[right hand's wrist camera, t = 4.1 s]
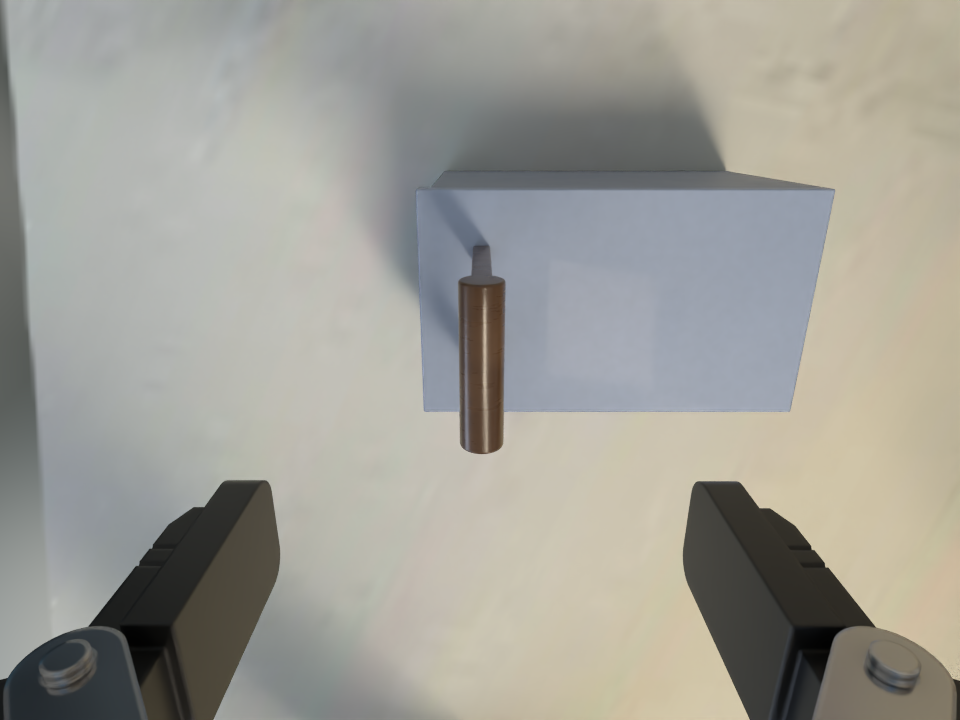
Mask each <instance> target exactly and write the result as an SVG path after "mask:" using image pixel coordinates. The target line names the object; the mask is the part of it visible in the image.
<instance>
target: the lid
mask: <svg viewBox="0 0 960 720" xmlns="http://www.w3.org/2000/svg"><path fill="white" fill-rule="evenodd" d="M834 194H835V190H834V189H830V188H824V187H419V188H417V189H416V210H417V237H418V264H419V291H420V318H421V345H422V372H423V399H424V411H425V412H460V444H461V446H462V448H463V449H465V450H466V451H468V452H471V453H476V454H488V453H492V452H495V451H497V450H499V449H500V448H501V447H502V445H503V425H504V412H790V409H791V404H792V399H793V394H794V389H795V384H796V380H797V375H798V370H799V365H800V360H801V355H802V350H803V345H804V340H805V336H806V331H807V326H808V321H809V316H810V311H811V306H812V301H813V296H814V291H815V287H816V282H817V277H818V272H819V267H820V262H821V257H822V252H823V247H824V242H825V238H826V233H827V228H828V223H829V218H830V213H831V208H832V203H833V198H834Z"/></svg>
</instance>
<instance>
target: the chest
mask: <svg viewBox="0 0 960 720" xmlns="http://www.w3.org/2000/svg"><path fill="white" fill-rule="evenodd" d="M432 187H818V186H812V185H806V184H800V183H794V182H788V181H782V180H776V179H770V178H764V177H758V176H752V175H746V174H740V173H734V172H729V171H444V173H443V174H442V175H441V176H440V177H439V179H438V180H437V181H436V182H435V183H434V184H433V185H432Z"/></svg>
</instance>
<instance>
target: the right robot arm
mask: <svg viewBox="0 0 960 720" xmlns="http://www.w3.org/2000/svg"><path fill="white" fill-rule="evenodd" d="M279 564H280V546H279V539H278V532H277V525H276V518H275V511H274V504H273V497H272V491H271V487H270V485H269V483H268V482H267V481H265V480H226V481H224V482H223V483H222V484H221V485H220V486H219V488H218V489H217V491H216V492H215V493H214V495H213V496H212V497H211V499H210V500H209V502H208V503H207V504H206V506H205V507H193V508H192V509H191V510H189V511H188V512H186V513H185V514H183V515H182V516H180V517H179V518H178V519H176V520H175V521H173V522H172V523H170V524H169V525H168V526H167V528H166V529H165V530H164V531H163V533H162V534H161V535H160V536H159V538H158V539H157V540H156V541H155V543H154V544H153V548H152V549H149V550H148V552H147V553H146V554H145V555H144V557H143V558H142V559H141V561H140V564H139V566H136V567H135V568H134V569H133V571H132V572H131V573H130V574H129V576H128V577H127V578H126V580H125V581H124V582H123V583H122V585H121V586H120V587H119V588H118V590H117V591H116V592H115V593H114V595H113V596H112V597H111V599H110V600H109V601H108V602H107V604H106V605H105V606H104V607H103V609H102V610H101V611H100V612H99V614H98V615H97V616H96V618H95V619H94V620H93V621H92V623H91V624H90V625H89V626H88V627H85V628H81V629H77V630H73V631H70V632H67V633H64V634H62V635H60V636H58V637H55V638H53V639H51V640H50V641H48V642H46V643H44V644H42V645H41V646H39V647H38V648H36V649H35V650H34V651H32V652H31V653H30V654H28V655H27V656H26V657H25V658H24V659H23V660H22V661H21V662H20V663H19V664H18V665H17V666H16V667H15V668H14V670H13V671H12V672H11V674H10V675H9V677H8V678H6V679H2V680H0V720H213V719H214V717H215V715H216V713H217V710H218V708H219V706H220V704H221V701H222V699H223V697H224V695H225V693H226V690H227V688H228V686H229V684H230V682H231V679H232V677H233V675H234V673H235V671H236V668H237V666H238V664H239V662H240V660H241V657H242V655H243V653H244V651H245V648H246V646H247V644H248V642H249V640H250V637H251V635H252V633H253V631H254V629H255V626H256V624H257V622H258V620H259V618H260V615H261V613H262V611H263V609H264V606H265V604H266V602H267V600H268V598H269V595H270V593H271V591H272V589H273V587H274V584H275V582H276V579H277V575H278V571H279ZM683 565H684V572H685V576H686V580H687V583H688V585H689V588H690V590H691V592H692V594H693V596H694V599H695V601H696V603H697V605H698V607H699V609H700V612H701V614H702V616H703V618H704V620H705V623H706V625H707V627H708V629H709V631H710V633H711V636H712V638H713V640H714V642H715V644H716V647H717V649H718V651H719V653H720V655H721V657H722V660H723V662H724V664H725V666H726V668H727V671H728V673H729V675H730V677H731V679H732V681H733V684H734V686H735V688H736V690H737V692H738V695H739V697H740V699H741V701H742V703H743V705H744V708H745V710H746V712H747V714H748V716H749V719H750V720H960V681H958V680H955V679H952V677H951V675H950V674H949V672H948V671H947V670H946V668H945V667H944V666H943V665H942V664H941V663H940V662H939V661H938V660H937V659H936V658H935V657H934V656H933V655H932V654H930V653H929V652H928V651H926V650H925V649H924V648H922V647H921V646H919V645H918V644H916V643H914V642H912V641H910V640H909V639H907V638H905V637H902V636H900V635H898V634H896V633H893V632H890V631H887V630H883V629H879V628H876V627H875V626H874V624H873V623H872V622H871V621H870V619H869V618H868V617H867V616H866V614H865V613H864V612H863V611H862V609H861V608H860V607H859V606H858V604H857V603H856V602H855V601H854V599H853V598H852V597H851V596H850V594H849V593H848V592H847V591H846V589H845V588H844V587H843V586H842V584H841V583H840V582H839V580H838V579H837V578H836V577H835V575H834V574H833V573H832V572H831V570H830V569H829V568H825V563H824V562H823V560H822V559H821V558H820V557H819V555H818V554H817V553H816V552H815V550H812V549H811V545H810V544H809V543H808V542H807V540H806V539H805V538H804V537H803V535H802V534H801V533H800V532H799V530H798V529H797V528H796V526H794V525H793V524H792V523H790V522H789V521H787V520H786V519H784V518H783V517H781V516H780V515H779V514H777V513H776V512H774V511H773V510H771V509H770V508H759V507H758V506H757V504H756V503H755V502H754V500H753V499H752V498H751V496H750V495H749V494H748V492H747V491H746V490H745V488H744V487H743V486H742V484H741V483H739V482H737V481H699V482H696V483H695V484H694V486H693V489H692V493H691V500H690V506H689V513H688V520H687V527H686V534H685V540H684V547H683Z"/></svg>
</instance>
